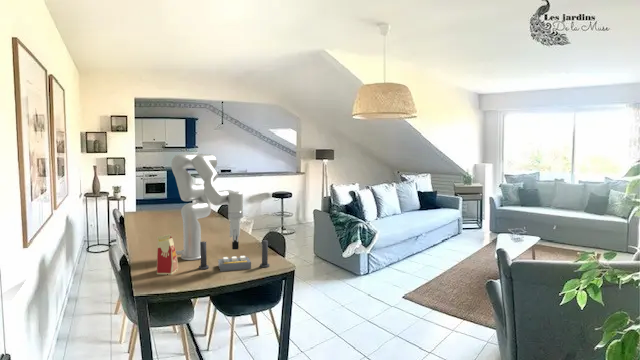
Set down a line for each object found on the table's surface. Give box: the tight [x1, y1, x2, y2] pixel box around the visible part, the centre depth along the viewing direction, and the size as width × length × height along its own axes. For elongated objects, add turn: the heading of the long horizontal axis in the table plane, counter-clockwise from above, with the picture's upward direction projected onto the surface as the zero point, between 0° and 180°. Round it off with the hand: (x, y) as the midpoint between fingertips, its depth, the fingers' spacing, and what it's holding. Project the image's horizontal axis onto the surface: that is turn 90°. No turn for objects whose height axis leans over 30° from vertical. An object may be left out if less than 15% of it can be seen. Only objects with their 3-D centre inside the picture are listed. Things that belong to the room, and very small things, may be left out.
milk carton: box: [156, 233, 179, 276], centre depth 203 cm, size 9×9×20 cm
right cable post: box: [259, 239, 270, 269], centre depth 215 cm, size 5×5×14 cm
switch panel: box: [217, 255, 252, 272], centre depth 213 cm, size 16×10×6 cm, turn 109°
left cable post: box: [198, 240, 209, 270], centre depth 210 cm, size 5×5×14 cm
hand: (235, 248), depth 212 cm, fingers closed
